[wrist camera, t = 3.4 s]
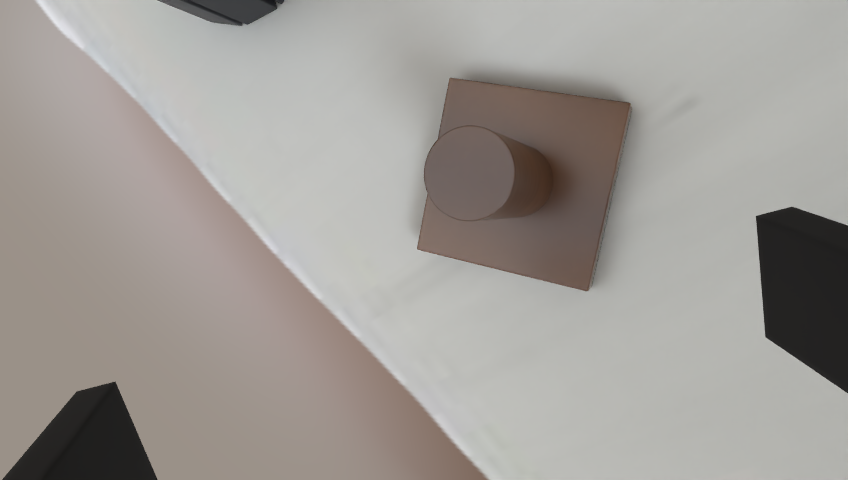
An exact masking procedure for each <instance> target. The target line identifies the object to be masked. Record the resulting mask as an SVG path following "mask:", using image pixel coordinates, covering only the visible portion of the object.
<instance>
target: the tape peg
mask: <svg viewBox="0 0 848 480" xmlns="http://www.w3.org/2000/svg"><path fill="white" fill-rule="evenodd" d="M631 112H632V107H631V104H630V103H627V102H620V101H613V100H605V99H598V98H591V97H584V96H577V95H570V94H563V93H556V92H548V91H541V90H534V89H527V88H520V87H513V86H506V85H499V84H492V83H484V82H477V81H470V80H463V79H456V78H450V79H449V83H448V89H447V94H446V99H445V104H444V110H443V115H442V120H441V125H440V131H439V136H438V140H437V141H436V142H435V144H434V145H433V146H432V148H431V150H430V152H429V154H428V156H427V159H426V163H425V168H424V181H425V186H426V190H427V192H428V194H427V199H426V204H425V210H424V215H423V220H422V225H421V231H420V236H419V241H418V246H417V249H418V250H421V251H425V252H429V253H434V254H438V255H442V256H446V257H450V258H454V259H458V260H462V261H466V262H470V263H474V264H478V265H482V266H486V267H490V268H494V269H499V270H503V271H507V272H511V273H515V274H519V275H523V276H527V277H531V278H535V279H539V280H543V281H547V282H551V283H555V284H559V285H564V286H568V287H572V288H576V289H580V290H584V291H588V290H589V289H590V288H591V287H592V283H593V278H594V274H595V270H596V265H597V261H598V256H599V252H600V248H601V243H602V239H603V235H604V230H605V226H606V221H607V217H608V213H609V208H610V204H611V199H612V195H613V191H614V186H615V182H616V177H617V173H618V169H619V164H620V160H621V155H622V151H623V147H624V142H625V138H626V133H627V129H628V125H629V120H630V116H631Z"/></svg>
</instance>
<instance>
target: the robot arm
mask: <svg viewBox="0 0 848 480" xmlns="http://www.w3.org/2000/svg"><path fill="white" fill-rule="evenodd" d="M756 222H757V235H758V247H759V260H760V273H761V285H762V298H763V311H764V323H765V336H766V338H768V339H769V340H771V341H772V342H774V343H775V344H776V345H778V346H779V347H781V348H782V349H784V350H785V351H787V352H788V353H790V354H791V355H793V356H794V357H796V358H797V359H798V360H800V361H801V362H803V363H804V364H806V365H807V366H809V367H810V368H812V369H813V370H815V371H816V372H818V373H819V374H821V375H822V376H823V377H825V378H826V379H828V380H829V381H831V382H832V383H834V384H835V385H837V386H838V387H840V388H841V389H843V390H844V391H845V392H847V393H848V226H847V225H844V224H841V223H838V222H836V221H833V220H830V219H827V218H824V217H821V216H818V215H815V214H812V213H809V212H806V211H803V210H800V209H797V208H794V207H789V208H785V209H782V210H778V211H774V212H770V213H766V214H762V215H758V216H756ZM3 480H157V478H156V475H155V473H154V471H153V468H152V466H151V464H150V461H149V459H148V457H147V454H146V452H145V450H144V447H143V445H142V443H141V441H140V438H139V436H138V433H137V431H136V429H135V426H134V424H133V422H132V419H131V417H130V415H129V412H128V410H127V408H126V405H125V403H124V401H123V398H122V396H121V394H120V391H119V389H118V387H117V384H116V382H112V383H109V384H104V385H101V386H97V387H93V388H89V389H85V390H81V391H78V392H76V393H75V394H74V395H73V397H72V398H71V399H70V400H69V401H68V403H67V404H66V405H65V406H64V407H63V408H62V410H61V411H60V412H59V413H58V414H57V415H56V417H55V418H54V419H53V420H52V421H51V423H50V424H49V425H48V426H47V427H46V429H45V430H44V431H43V432H42V433H41V434H40V436H39V437H38V438H37V439H36V440H35V442H34V443H33V444H32V445H31V446H30V447H29V449H28V450H27V451H26V452H25V453H24V455H23V456H22V457H21V458H20V459H19V461H18V462H17V463H16V464H15V465H14V466H13V468H12V469H11V470H10V471H9V472H8V473H7V475H6V476H5V477H4V478H3Z"/></svg>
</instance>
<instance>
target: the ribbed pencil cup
mask: <svg viewBox="0 0 848 480" xmlns="http://www.w3.org/2000/svg"><path fill="white" fill-rule="evenodd" d="M158 1H160V2H163V3H165V4H168V5H170V6H173V7H175V8H178V9H180V10H183V11H185V12H188V13H190V14H193V15H195V16H198V17H200V18H203V19H205V20H208V21H210V22H214V23H222V24H230V25H238V26H242V23H244V24H249V23H251V22H253V21H255V20H257V19H259V18H261V17H262V16H264V15H266V14H268V13H270V12H272V11H274V10H275V9H277V6H276V3H275V1H276V2H278V3H280V4H282V3H283V2H284V0H158Z"/></svg>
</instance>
